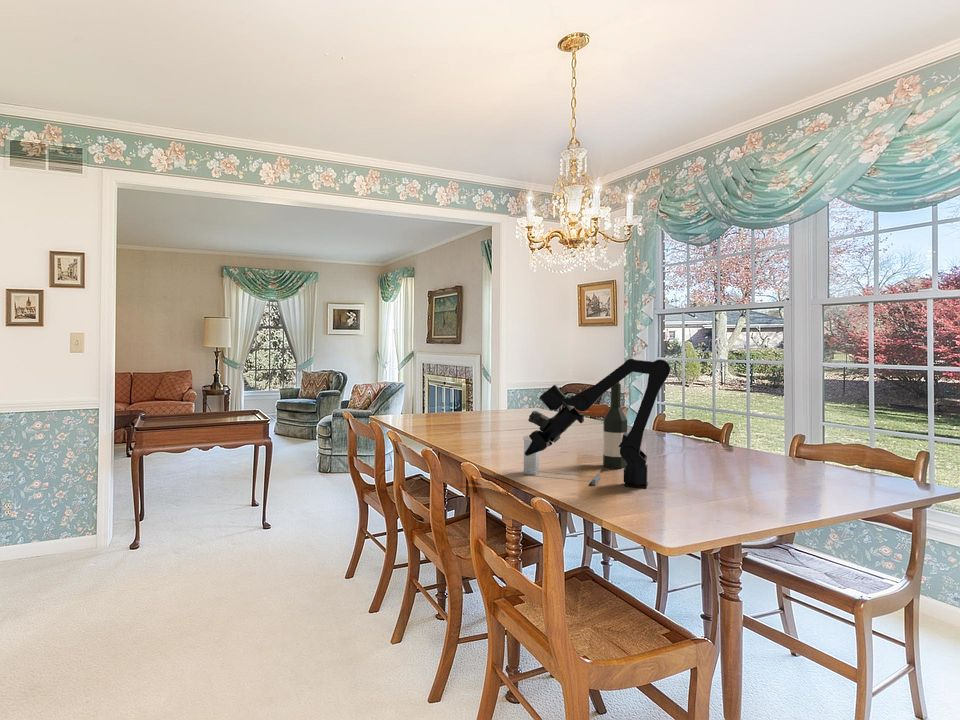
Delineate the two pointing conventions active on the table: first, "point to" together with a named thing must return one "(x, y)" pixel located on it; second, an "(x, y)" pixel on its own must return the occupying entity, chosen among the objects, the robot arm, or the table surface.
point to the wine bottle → (614, 431)
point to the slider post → (530, 459)
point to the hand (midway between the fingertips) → (527, 453)
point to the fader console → (593, 482)
